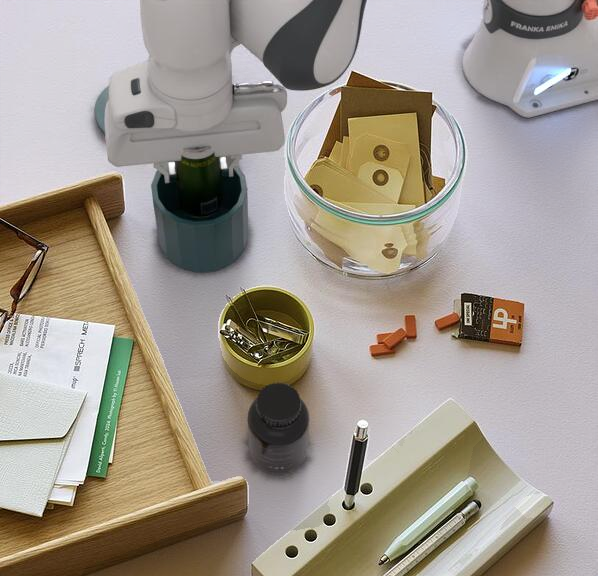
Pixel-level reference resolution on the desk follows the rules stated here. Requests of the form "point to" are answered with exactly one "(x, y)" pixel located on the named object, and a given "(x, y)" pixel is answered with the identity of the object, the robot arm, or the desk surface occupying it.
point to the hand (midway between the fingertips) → (198, 175)
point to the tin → (202, 226)
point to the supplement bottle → (278, 429)
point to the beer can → (199, 182)
